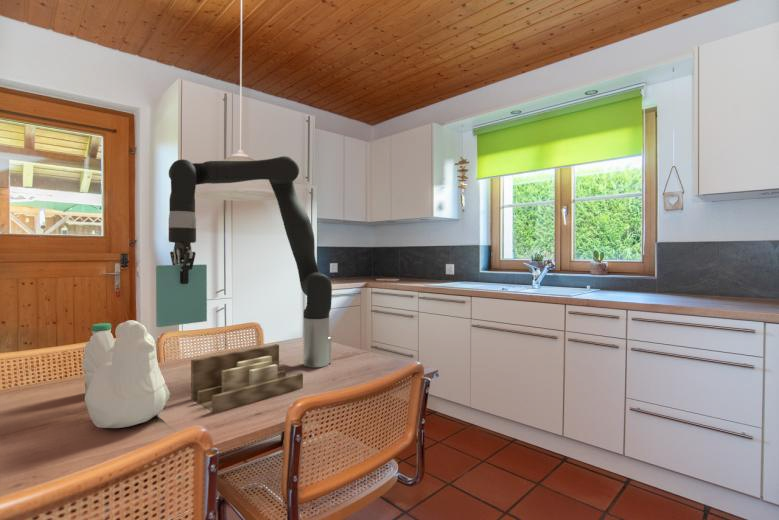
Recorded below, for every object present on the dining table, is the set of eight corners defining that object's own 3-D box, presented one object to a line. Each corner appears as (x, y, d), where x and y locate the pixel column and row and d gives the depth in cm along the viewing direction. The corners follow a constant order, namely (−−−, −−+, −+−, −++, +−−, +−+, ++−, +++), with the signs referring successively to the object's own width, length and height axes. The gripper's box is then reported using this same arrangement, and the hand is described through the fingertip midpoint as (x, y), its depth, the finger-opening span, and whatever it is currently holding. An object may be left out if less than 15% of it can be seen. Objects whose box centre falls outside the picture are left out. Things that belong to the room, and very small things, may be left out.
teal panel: (204, 320, 132) (203, 264, 131) (206, 321, 130) (206, 264, 130) (156, 326, 121) (156, 265, 121) (158, 327, 120) (158, 265, 119)
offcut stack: (268, 385, 121) (269, 355, 121) (277, 389, 118) (277, 358, 118) (219, 399, 110) (219, 365, 110) (227, 403, 107) (227, 369, 106)
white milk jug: (181, 420, 100) (180, 318, 99) (106, 444, 87) (105, 328, 86) (136, 397, 115) (135, 309, 114) (66, 415, 102) (65, 316, 101)
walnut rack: (276, 382, 129) (276, 344, 129) (302, 392, 120) (302, 351, 119) (191, 404, 110) (191, 359, 110) (214, 419, 100) (214, 370, 100)
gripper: (204, 226, 123) (204, 284, 124) (185, 228, 132) (186, 281, 133) (178, 225, 118) (178, 285, 118) (160, 227, 127) (160, 282, 127)
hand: (182, 283), depth 125 cm, fingers closed on teal panel, 2 cm apart
